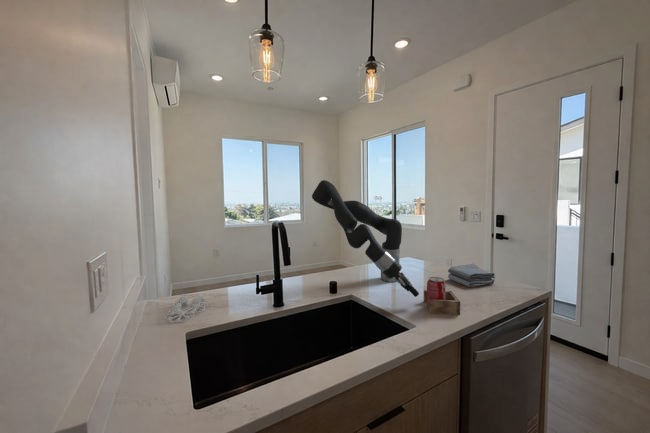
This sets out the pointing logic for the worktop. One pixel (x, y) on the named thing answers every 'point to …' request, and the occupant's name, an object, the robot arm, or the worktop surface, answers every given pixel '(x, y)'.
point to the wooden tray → (444, 304)
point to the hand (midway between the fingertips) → (417, 294)
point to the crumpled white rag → (180, 313)
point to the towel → (471, 275)
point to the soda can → (436, 289)
